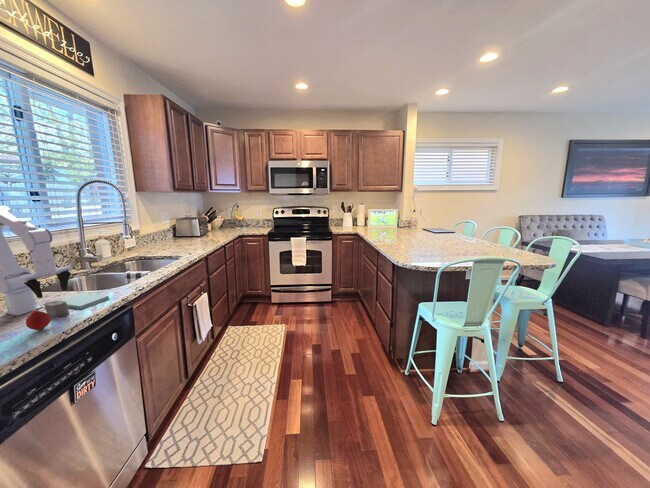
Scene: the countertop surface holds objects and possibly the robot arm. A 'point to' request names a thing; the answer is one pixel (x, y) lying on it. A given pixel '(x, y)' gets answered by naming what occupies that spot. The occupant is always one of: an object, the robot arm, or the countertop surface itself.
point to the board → (84, 300)
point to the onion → (37, 320)
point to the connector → (56, 309)
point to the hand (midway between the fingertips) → (52, 293)
